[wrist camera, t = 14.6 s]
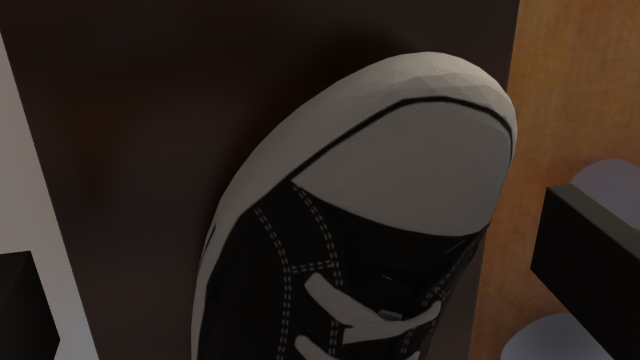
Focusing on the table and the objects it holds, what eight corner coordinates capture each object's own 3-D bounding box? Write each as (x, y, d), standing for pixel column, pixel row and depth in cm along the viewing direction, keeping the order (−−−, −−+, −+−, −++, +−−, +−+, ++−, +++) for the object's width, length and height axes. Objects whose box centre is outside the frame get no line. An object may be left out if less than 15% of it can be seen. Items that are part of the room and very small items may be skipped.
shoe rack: (133, -118, 42) (-79, -224, 10) (304, -121, 44) (551, -216, 13) (189, 220, 57) (171, 600, 25) (315, 204, 59) (443, 535, 27)
